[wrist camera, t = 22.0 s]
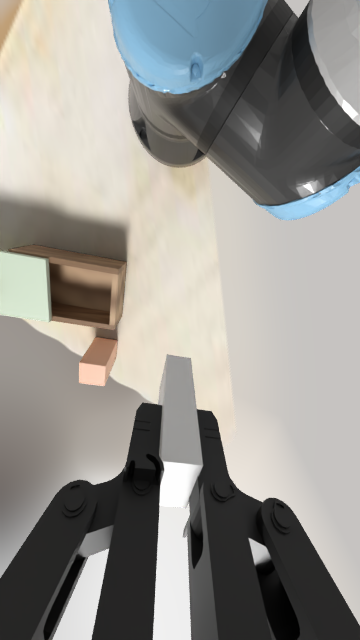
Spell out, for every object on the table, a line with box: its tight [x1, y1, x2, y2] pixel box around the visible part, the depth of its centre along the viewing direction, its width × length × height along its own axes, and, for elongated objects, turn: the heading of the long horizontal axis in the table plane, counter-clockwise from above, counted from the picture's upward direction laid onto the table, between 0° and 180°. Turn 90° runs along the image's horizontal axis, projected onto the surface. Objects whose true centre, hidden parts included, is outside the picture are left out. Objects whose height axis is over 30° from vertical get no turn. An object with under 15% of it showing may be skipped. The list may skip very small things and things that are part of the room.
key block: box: [79, 337, 118, 386], centre depth 49 cm, size 5×5×10 cm
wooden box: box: [8, 245, 127, 330], centre depth 43 cm, size 12×18×7 cm, turn 79°
